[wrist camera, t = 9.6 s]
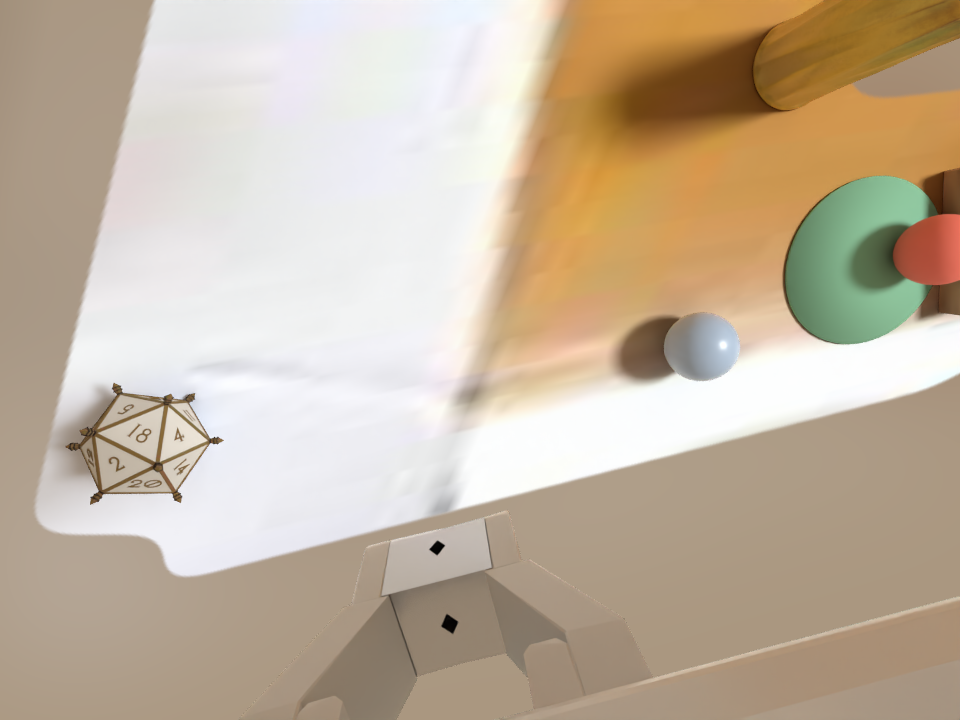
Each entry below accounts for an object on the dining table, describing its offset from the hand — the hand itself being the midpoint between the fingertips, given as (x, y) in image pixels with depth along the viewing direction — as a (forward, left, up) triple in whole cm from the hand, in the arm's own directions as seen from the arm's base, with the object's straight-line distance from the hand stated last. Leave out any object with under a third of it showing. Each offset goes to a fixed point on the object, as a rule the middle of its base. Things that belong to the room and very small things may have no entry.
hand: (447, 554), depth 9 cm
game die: (+11, -20, -29) cm, 37 cm away
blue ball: (-1, +21, -26) cm, 33 cm away
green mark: (-10, +35, -29) cm, 46 cm away
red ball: (-11, +38, -26) cm, 48 cm away
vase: (-23, +24, -29) cm, 44 cm away
